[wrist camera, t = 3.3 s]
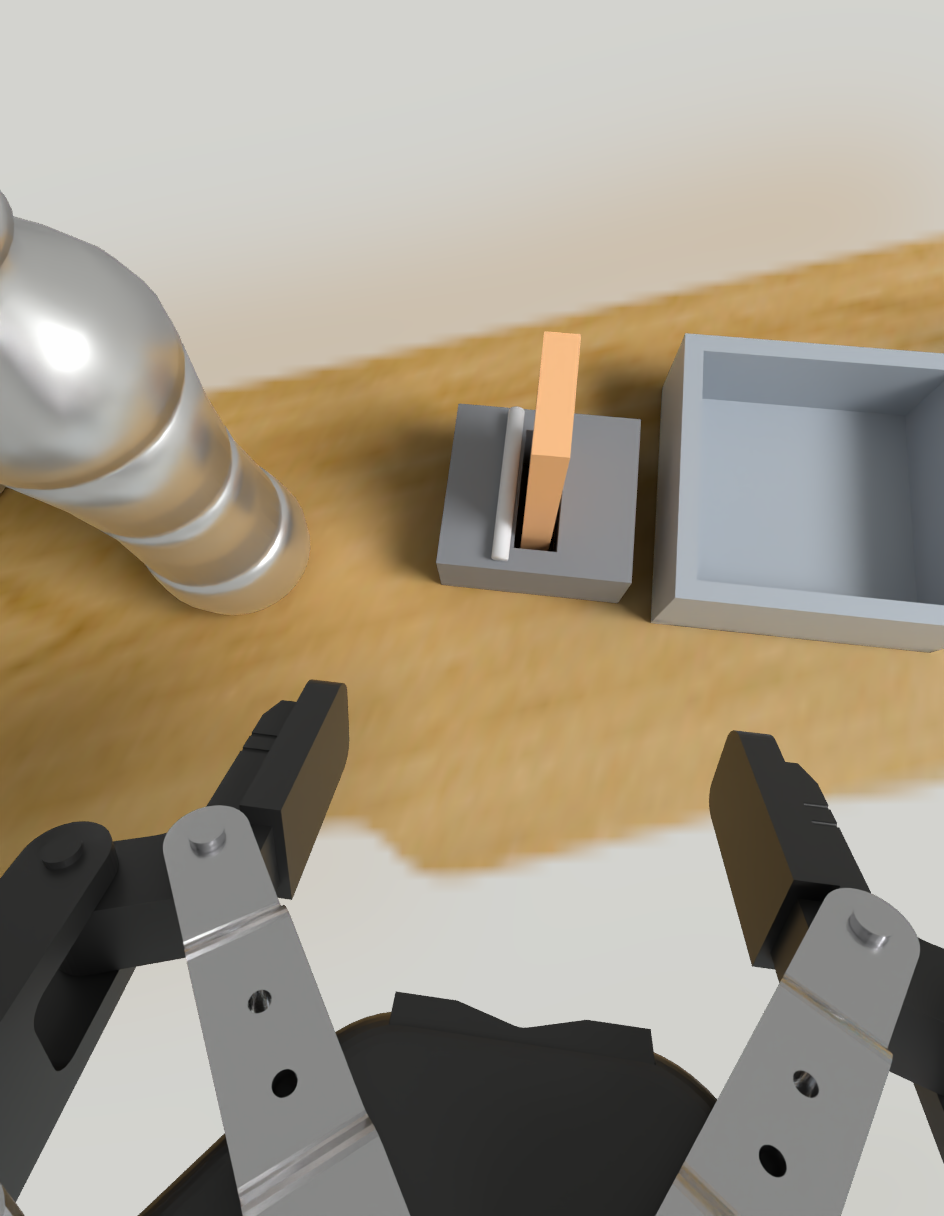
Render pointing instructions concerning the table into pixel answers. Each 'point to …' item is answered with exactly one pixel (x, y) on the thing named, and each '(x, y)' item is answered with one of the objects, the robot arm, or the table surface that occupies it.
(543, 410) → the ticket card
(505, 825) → the table surface
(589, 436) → the ticket dispenser
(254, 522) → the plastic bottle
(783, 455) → the tray
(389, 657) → the table surface
